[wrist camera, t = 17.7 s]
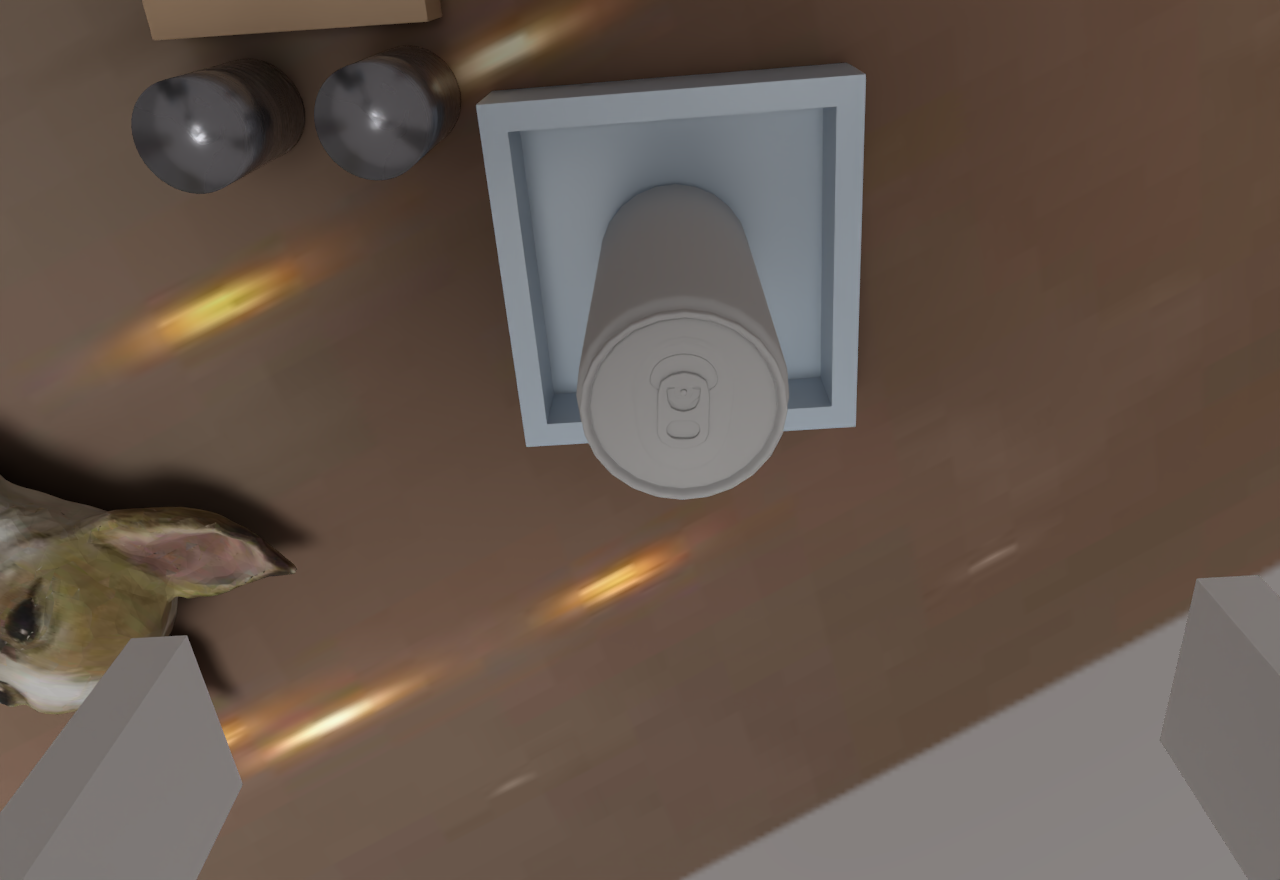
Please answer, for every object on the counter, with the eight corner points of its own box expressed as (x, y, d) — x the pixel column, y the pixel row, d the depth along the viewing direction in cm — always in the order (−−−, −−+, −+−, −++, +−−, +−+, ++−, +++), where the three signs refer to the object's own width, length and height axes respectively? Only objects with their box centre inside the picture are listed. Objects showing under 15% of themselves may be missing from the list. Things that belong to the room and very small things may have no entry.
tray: (491, 90, 30) (476, 105, 27) (846, 62, 29) (865, 74, 27) (536, 408, 35) (526, 446, 32) (840, 389, 34) (855, 426, 32)
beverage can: (750, 179, 30) (801, 305, 20) (744, 322, 33) (787, 505, 22) (599, 180, 31) (568, 305, 20) (603, 323, 33) (577, 505, 22)
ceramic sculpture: (-275, 470, 26) (253, 665, 31) (-80, 343, 34) (322, 513, 38) (-312, 717, 31) (154, 859, 35) (-132, 556, 38) (234, 688, 42)
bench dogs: (197, 62, 30) (115, 83, 25) (452, 42, 29) (415, 58, 25) (223, 161, 31) (151, 197, 27) (467, 142, 31) (435, 176, 26)
